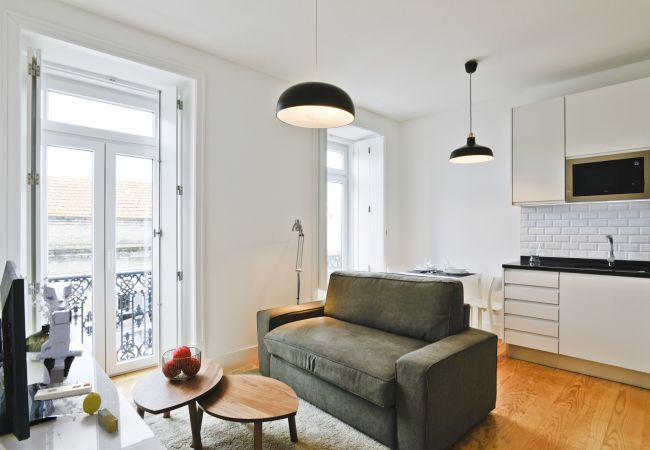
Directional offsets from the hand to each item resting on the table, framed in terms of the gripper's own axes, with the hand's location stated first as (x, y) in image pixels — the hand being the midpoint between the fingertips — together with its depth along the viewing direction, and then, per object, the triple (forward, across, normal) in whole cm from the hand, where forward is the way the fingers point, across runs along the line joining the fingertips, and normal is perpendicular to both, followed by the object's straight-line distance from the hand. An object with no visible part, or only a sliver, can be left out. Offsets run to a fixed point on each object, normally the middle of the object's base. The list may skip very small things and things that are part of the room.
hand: (59, 377), depth 138 cm
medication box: (+10, +22, -26) cm, 36 cm away
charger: (+3, 0, 0) cm, 3 cm away
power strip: (+10, 0, +7) cm, 12 cm away
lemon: (+10, +15, -16) cm, 24 cm away
